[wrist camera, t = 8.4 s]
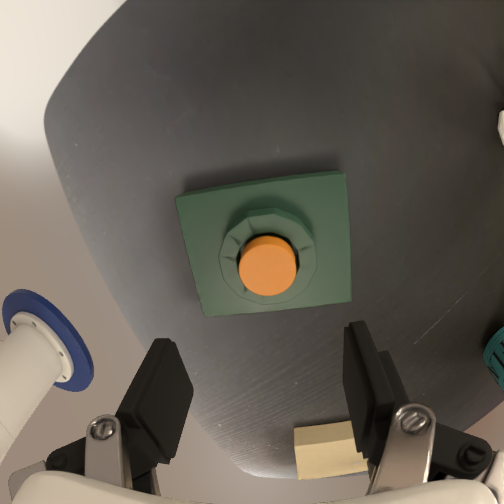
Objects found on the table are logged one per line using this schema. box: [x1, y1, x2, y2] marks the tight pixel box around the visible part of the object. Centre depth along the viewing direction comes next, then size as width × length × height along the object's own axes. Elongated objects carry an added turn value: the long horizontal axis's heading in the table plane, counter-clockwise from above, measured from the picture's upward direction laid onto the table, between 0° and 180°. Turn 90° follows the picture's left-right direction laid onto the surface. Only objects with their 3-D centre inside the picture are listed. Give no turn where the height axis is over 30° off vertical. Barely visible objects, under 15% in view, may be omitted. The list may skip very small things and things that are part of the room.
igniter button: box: [239, 235, 296, 296], centre depth 19 cm, size 4×4×2 cm
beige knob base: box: [294, 421, 368, 480], centre depth 32 cm, size 16×12×3 cm
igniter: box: [175, 170, 351, 317], centre depth 21 cm, size 12×10×4 cm
